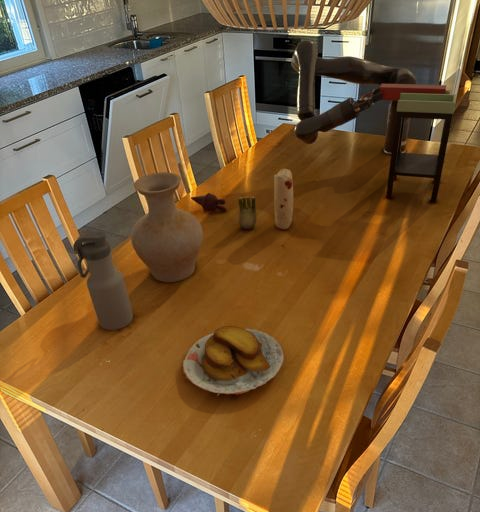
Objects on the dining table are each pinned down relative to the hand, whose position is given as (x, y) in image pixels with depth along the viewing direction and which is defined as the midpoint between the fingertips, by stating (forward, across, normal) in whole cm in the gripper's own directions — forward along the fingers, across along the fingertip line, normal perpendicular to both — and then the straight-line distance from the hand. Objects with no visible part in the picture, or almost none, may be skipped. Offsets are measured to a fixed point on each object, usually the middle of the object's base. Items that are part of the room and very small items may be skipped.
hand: (384, 91), depth 183 cm
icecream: (-67, -37, +2) cm, 76 cm away
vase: (-63, -78, +4) cm, 100 cm away
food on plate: (-34, -114, +21) cm, 121 cm away
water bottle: (-68, -106, +1) cm, 126 cm away
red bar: (+7, 0, +7) cm, 10 cm away
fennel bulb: (-50, -47, +11) cm, 70 cm away
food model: (-40, -42, +17) cm, 60 cm away
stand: (-4, -4, +37) cm, 38 cm away
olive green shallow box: (+12, -10, +10) cm, 18 cm away
